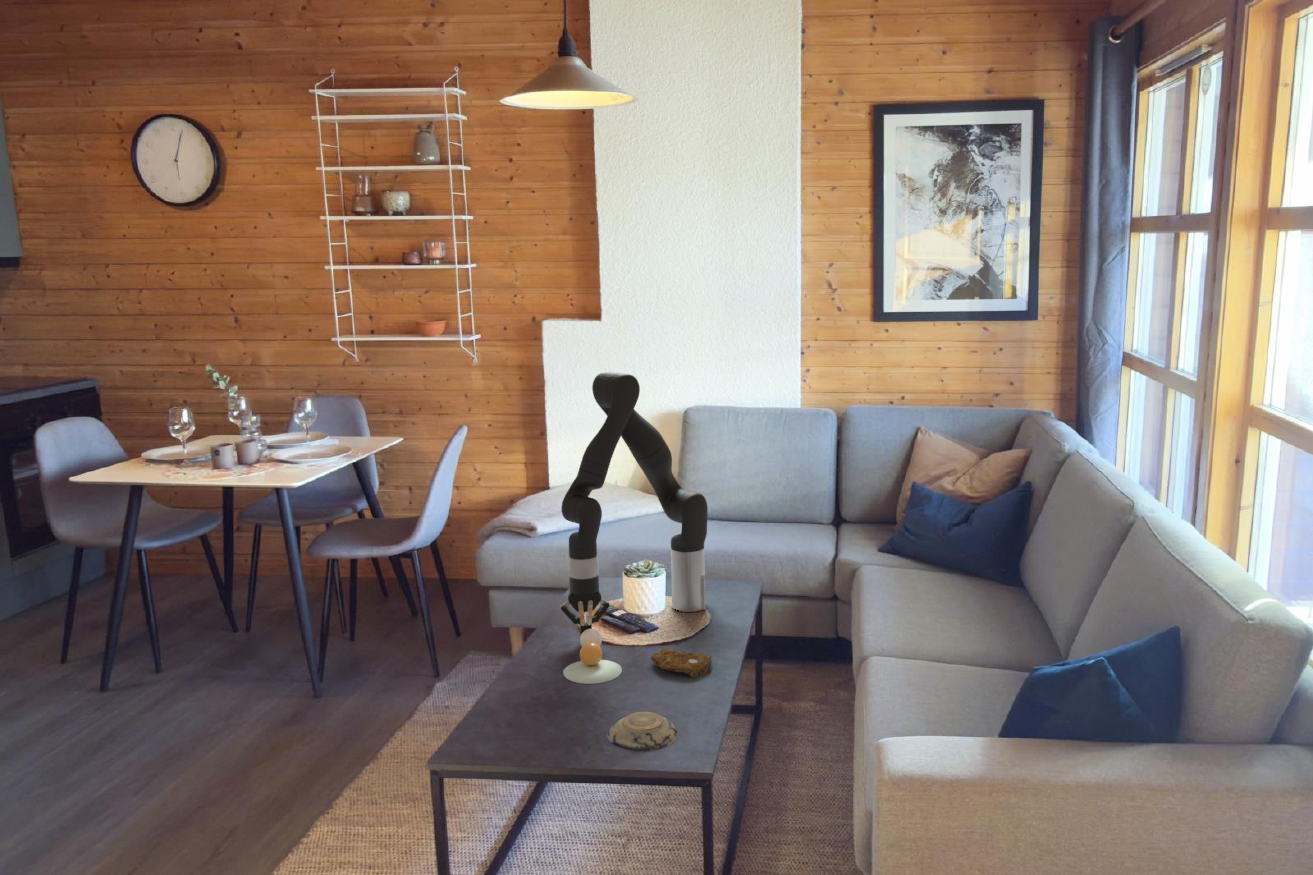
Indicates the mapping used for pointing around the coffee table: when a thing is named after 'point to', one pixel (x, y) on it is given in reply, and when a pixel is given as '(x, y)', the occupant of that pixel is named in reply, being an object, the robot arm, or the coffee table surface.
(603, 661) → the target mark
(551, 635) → the coffee table surface
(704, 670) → the decorative rock
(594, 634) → the cue ball
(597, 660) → the object ball
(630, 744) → the decorative bowl
